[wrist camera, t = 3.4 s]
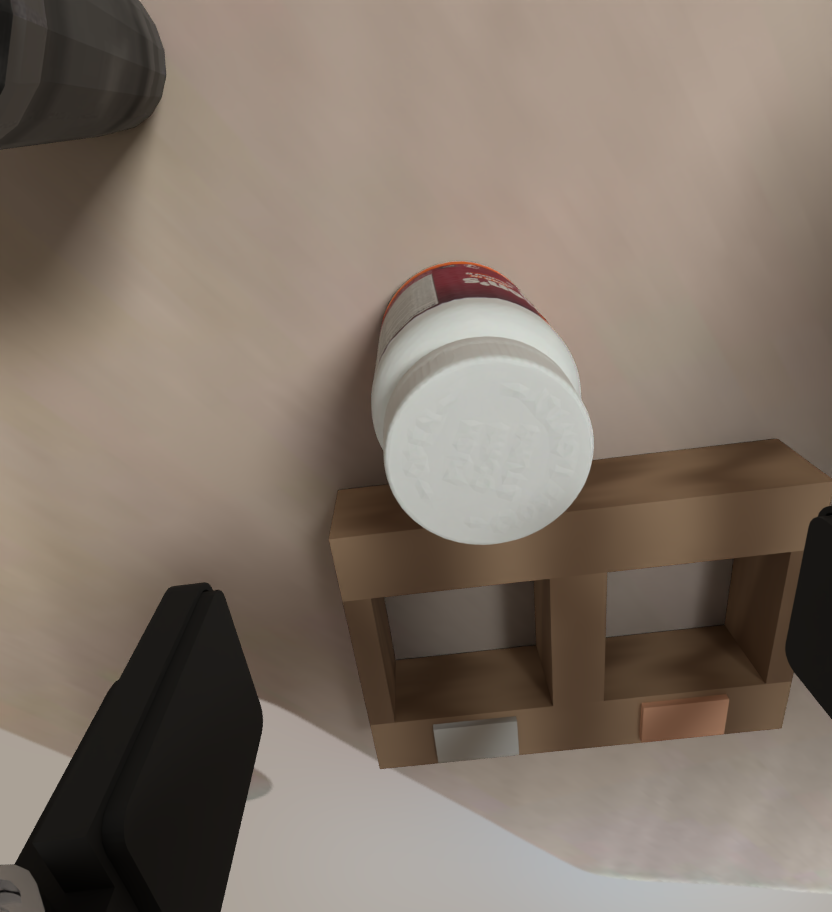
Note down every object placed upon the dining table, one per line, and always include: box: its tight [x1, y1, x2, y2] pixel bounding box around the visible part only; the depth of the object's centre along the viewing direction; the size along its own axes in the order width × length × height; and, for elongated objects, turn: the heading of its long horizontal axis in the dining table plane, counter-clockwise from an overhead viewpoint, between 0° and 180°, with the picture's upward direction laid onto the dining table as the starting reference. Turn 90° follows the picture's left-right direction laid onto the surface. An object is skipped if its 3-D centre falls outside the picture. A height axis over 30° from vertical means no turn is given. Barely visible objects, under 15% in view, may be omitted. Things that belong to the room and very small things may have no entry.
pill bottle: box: [371, 261, 594, 545], centre depth 19 cm, size 6×6×11 cm
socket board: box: [329, 439, 832, 769], centre depth 28 cm, size 20×14×4 cm
